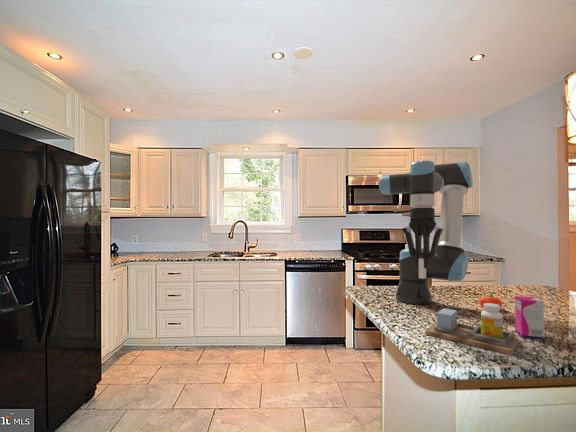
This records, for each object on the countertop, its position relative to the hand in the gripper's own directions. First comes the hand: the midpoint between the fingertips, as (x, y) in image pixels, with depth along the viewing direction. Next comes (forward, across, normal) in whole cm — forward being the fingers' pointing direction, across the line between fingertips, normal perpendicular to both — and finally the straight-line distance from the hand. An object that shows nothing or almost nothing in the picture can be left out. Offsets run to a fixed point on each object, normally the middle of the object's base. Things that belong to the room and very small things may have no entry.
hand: (422, 277), depth 103 cm
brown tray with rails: (+16, +14, 0) cm, 21 cm away
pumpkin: (+17, +13, +40) cm, 45 cm away
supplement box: (+17, +27, +15) cm, 35 cm away
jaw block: (+15, +7, 0) cm, 17 cm away
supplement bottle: (+15, +20, 0) cm, 25 cm away
